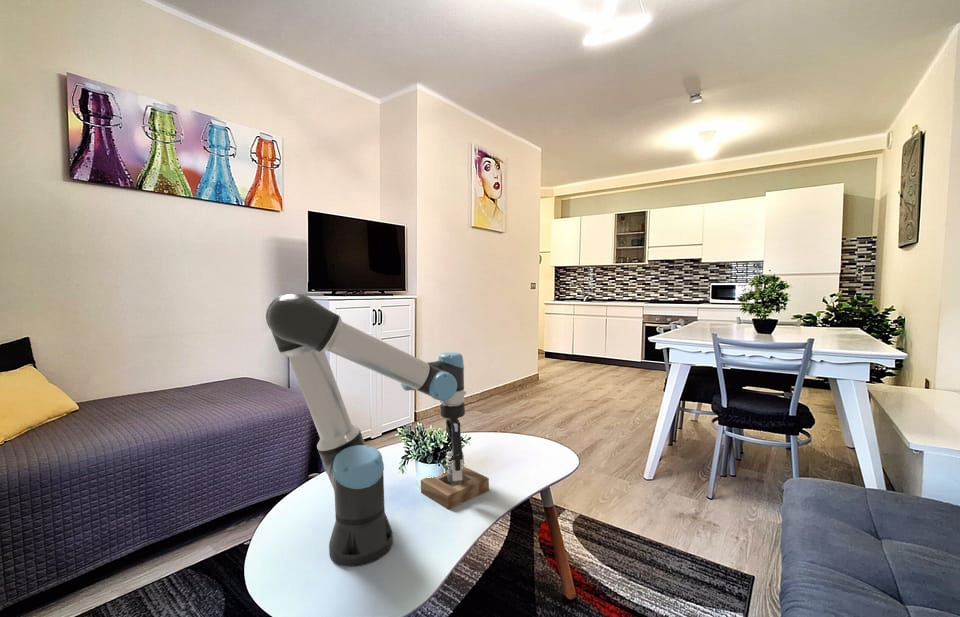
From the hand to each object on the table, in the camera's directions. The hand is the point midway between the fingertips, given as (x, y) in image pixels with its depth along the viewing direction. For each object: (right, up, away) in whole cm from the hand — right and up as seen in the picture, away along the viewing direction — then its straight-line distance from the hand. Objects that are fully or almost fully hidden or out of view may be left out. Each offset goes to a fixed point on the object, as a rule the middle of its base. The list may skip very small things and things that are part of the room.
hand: (454, 470), depth 130 cm
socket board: (0, -7, 0) cm, 7 cm away
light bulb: (+1, -6, 0) cm, 6 cm away
